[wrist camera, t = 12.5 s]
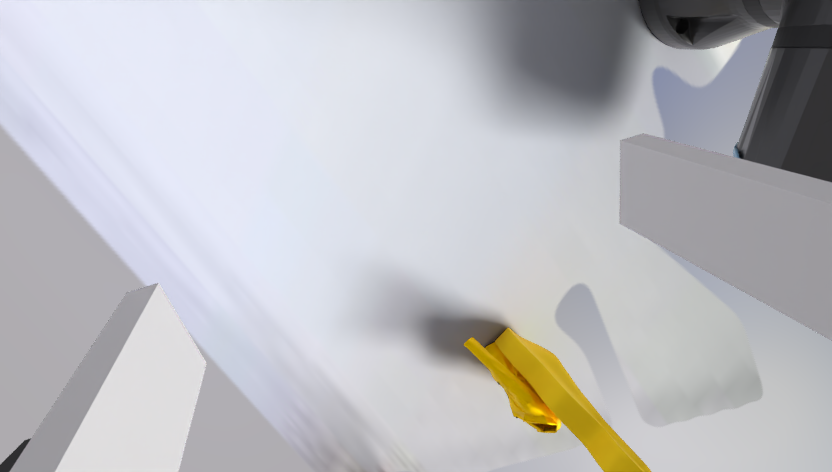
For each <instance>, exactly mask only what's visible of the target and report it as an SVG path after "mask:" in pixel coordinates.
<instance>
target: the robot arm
mask: <svg viewBox="0 0 832 472" xmlns="http://www.w3.org/2000/svg"><path fill="white" fill-rule="evenodd" d="M639 2H640V7H641V11H642V14H643V17H644V19H645V21H646V23H647V25H648V27H649V28H650V30H651V31H652V33H653V34H654V35H655V36H656V37H657V38H658V39H659V40H660V41H662V42H663V43H665V44H666V45H668V46H671V47H674V48H678V49H710V48H715V47H719V46H722V45H725V44H728V43H730V42H733V41H736V40H739V39H742V38H744V37H747V36H750V35H753V34H756V33H759V32H761V31H764V30H767V29H770V28H778V30H777V33H776V36H775V39H774V42H773V45H772V47H771V49H770V52H769V55H768V58H767V61H766V64H765V67H764V70H763V73H762V76H761V79H760V82H759V85H758V88H757V91H756V94H755V97H754V100H753V103H752V106H751V109H750V112H749V115H748V117H747V120H746V123H745V126H744V128H743V131H742V134H741V137H740V139H739V142H737V143H736V145H735V147H734V150H733V154H734V157H732V156H728V155H724V154H720V153H717V152H713V151H709V150H705V149H701V148H697V147H693V146H690V145H686V144H682V143H678V142H674V141H671V140H666V139H663V138H659V137H655V136H651V135H647V134H644V133H643V134H640V135H636V136H633V137H630V138H627V139H624V140H620V224H622V225H623V226H625V227H627V228H629V229H631V230H633V231H634V232H636V233H638V234H640V235H642V236H643V237H645V238H647V239H649V240H651V241H652V242H654V243H656V244H658V245H660V246H661V247H663V248H665V249H667V250H669V251H671V252H672V253H674V254H676V255H678V256H680V257H682V258H683V259H685V260H687V261H689V262H690V263H692V264H694V265H696V266H698V267H700V268H702V269H703V270H705V271H707V272H709V273H710V274H712V275H714V276H716V277H718V278H719V279H721V280H723V281H725V282H727V283H729V284H730V285H732V286H734V287H736V288H737V289H739V290H741V291H743V292H745V293H747V294H749V295H750V296H752V297H754V298H756V299H757V300H759V301H761V302H763V303H765V304H766V305H768V306H770V307H772V308H774V309H775V310H777V311H779V312H781V313H783V314H785V315H786V316H788V317H790V318H792V319H793V320H796V321H797V322H799V323H801V324H803V325H804V326H806V327H808V328H810V329H812V330H813V331H815V332H817V333H819V334H821V335H822V336H824V337H826V338H828V339H830V340H832V0H639ZM206 364H207V363H206V362H205V360H204V358H203V356H202V355H201V353H200V352H199V350H198V348H197V346H196V345H195V343H194V341H193V340H192V338H191V336H190V335H189V333H188V331H187V330H186V328H185V326H184V325H183V323H182V321H181V320H180V318H179V316H178V315H177V313H176V311H175V310H174V308H173V306H172V304H171V303H170V301H169V299H168V298H167V296H166V294H165V293H164V291H163V289H162V288H161V286H160V284H159V283H157V284H153V285H150V286H147V287H144V288H140V289H138V290H134V291H131V292H127V293H126V295H125V296H124V298H123V299H122V301H121V302H120V304H119V305H118V307H117V308H116V310H115V311H114V313H113V314H112V316H111V318H110V319H109V320H108V322H107V324H106V325H105V327H104V328H103V330H102V331H101V333H100V334H99V336H98V337H97V339H96V340H95V342H94V343H93V345H92V346H91V348H90V350H89V351H88V353H87V354H86V356H85V357H84V359H83V360H82V362H81V363H80V365H79V366H78V368H77V369H76V371H75V372H74V374H73V375H72V377H71V379H70V380H69V382H68V383H67V385H66V386H65V388H64V389H63V391H62V392H61V394H60V395H59V397H58V398H57V400H56V401H55V403H54V405H53V406H52V408H51V409H50V411H49V412H48V414H47V415H46V417H45V418H44V420H43V421H42V423H41V425H40V426H39V428H38V429H37V430H36V432H35V434H34V435H33V437H32V438H31V439H28V440H25V441H24V442H23V443H22V444H21V445H20V446H19V447H18V448H17V449H16V450H15V451H14V452H13V453H12V454H11V455H10V456H9V457H8V458H7V459H6V460H5V461H4V462H3V463H2V464H1V465H0V472H178V471H179V467H180V463H181V459H182V456H183V452H184V448H185V444H186V440H187V436H188V433H189V429H190V425H191V421H192V417H193V414H194V410H195V406H196V402H197V398H198V395H199V391H200V387H201V383H202V379H203V375H204V372H205V368H206Z"/></svg>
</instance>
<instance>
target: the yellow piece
mask: <svg viewBox="0 0 832 472" xmlns="http://www.w3.org/2000/svg"><path fill="white" fill-rule="evenodd" d="M464 346H465V347H466V348H467V349H469V350H470V351H471V352H472V353H473V354H474V355H475V356H476V357H477V358H478V359H479V360H480V361H481V362H482V363H483V364H484V365H485V366H486V367H487V368H488V369H489V370H490V372H491V374H492V377H493V378H494V379H495V381H496V382H497V383H498V384H499V385H501V386H502V387H503V388H504V390H505V392H506V393H507V395H508V398H509V402H510V407H511V409H512V413H513V415H514V417H516V418H520V419H522V420H523V422H527V423H528V424H529V425H530V426H532V427H534V428H535V429H537V431H538V432H543V433H556V432H557V430H559V429H560V427H561V421H562V422H563V423H564V424H565V425H566V426H567V428H568V429H569V430H570V431H571V432H572V433H573V434H574V435H575V436H576V437H577V438H578V439H579V440H580V441H581V442H582V443H583V444H584V446H585V447H586V448H587V449H588V451H589V452H590V453H591V455H592V456H593V458H594V459H595V460H596V462H597V463H598V465H599V466H600V467H601V468H602V470H603V471H604V472H651V471H650V469H649V468H648V467H647V465H646V464H645V463H644V462H643V461H642V460H641V459H640V458H639V457H638V456H637V455H636V454H635V452H634V451H633V450H632V449H631V448H630V447H629V446H628V445H627V444H626V443H625V442H624V441H623V440H622V439H621V438H620V437H619V436H618V435H617V433H616V432H615V431H614V430H613V429H612V428H611V427H610V426H609V425H608V424H607V423H606V422H605V420H604V419H603V418H602V417H601V416H600V414H599V413H598V412H597V411H596V409H595V408H594V407H593V406H592V404H591V403H590V402H589V401H588V400H587V398H586V397H585V396H584V395H583V393H582V392H581V391H580V390H579V388H578V387H577V385H576V384H575V383H574V381H573V380H572V378H571V377H570V375H569V374H568V373H567V371H566V370H565V368H564V367H563V365H562V364H561V362H560V361H559V359H558V358H557V357H556V356H555V355H554V354H553V353H551V352H550V351H548V350H547V349H545V348H543V347H541V346H539V345H537V344H535V343H532V342H530V341H528V340H526V339H524V338H522V337H520V336H519V335H517V334H516V333H515V332H513V331H512V330H511V329H510V328H507V329H506V330H505V331H504V332H503V333H502V334H501V335H500V336H499V337H498V338H497V339H496V340H495V342H493V343H492V344H490V345H488V346H486V347H485V348H484V347H483V346H482V345H481V344H480V343H479V342H478V341H476V340H475V339H474V338H473V337H472V338H470V339H468V340H467V341H466V342H465V343H464Z"/></svg>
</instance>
